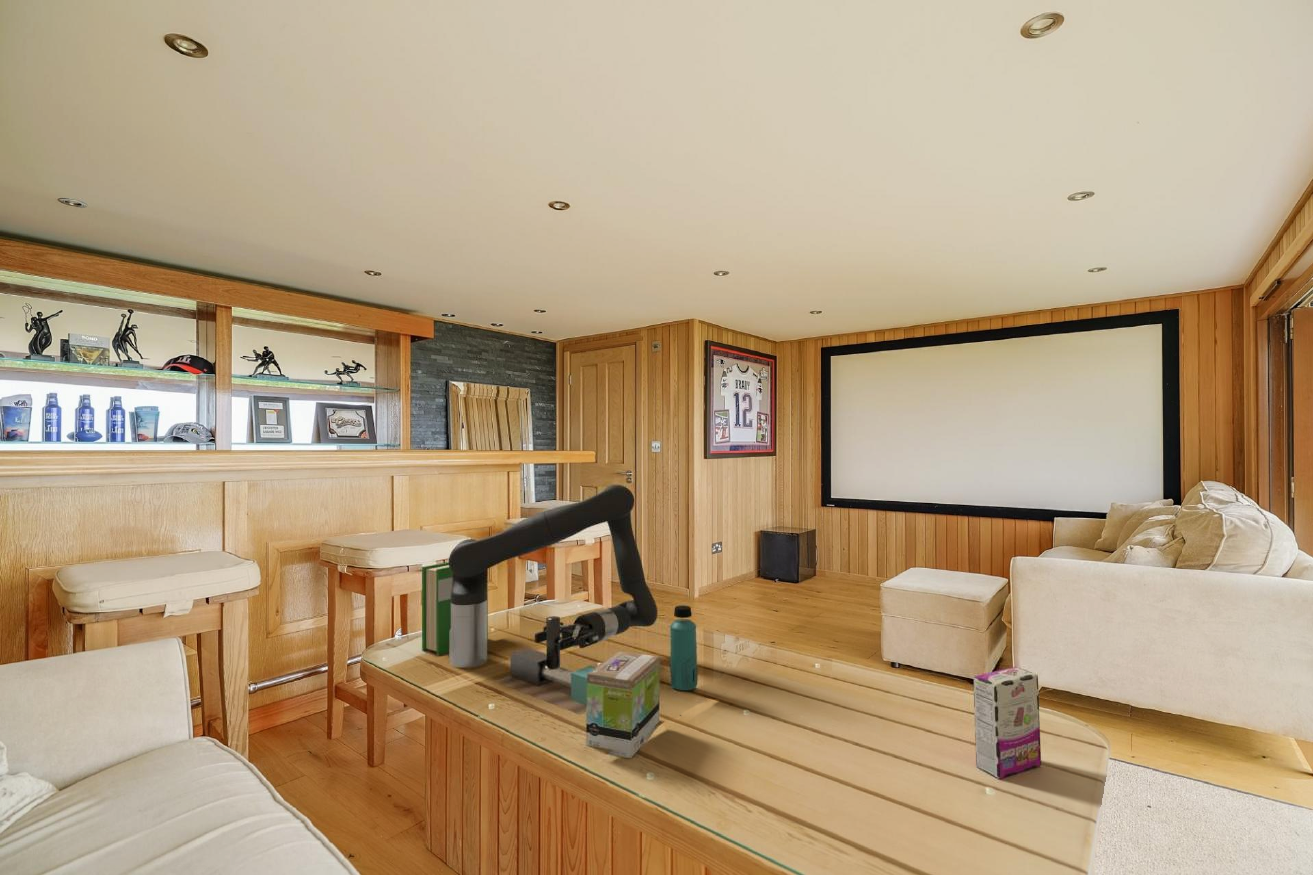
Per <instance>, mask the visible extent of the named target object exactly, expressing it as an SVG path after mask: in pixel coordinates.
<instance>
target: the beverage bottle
mask: <svg viewBox="0 0 1313 875" xmlns="http://www.w3.org/2000/svg"><path fill="white" fill-rule="evenodd" d="M673 613H674V614H673V616H674V617H675V618H679V619H675V620H674V621H672V623H670V626H669V628H670V630H669V632H670V634H669V635H670V638H669V639H670V641H669V642H670V651H669V653H670V654H669V657H670V664H669V666H670V668H669V669H670V670H669V671H670V672H669V673H670V685H671V687H672V688H673V689H674V690H677V691H678V690H679V691H691V690H694V689H696V688H697V687H698V686H697V685H698V684H699V683H698V679H699V678H698V675H699V674H698V668H699V667H698V654H697V653H698V652H697V650H698V649H697V647H698V646H697V644H698V642H697V624H696V623H695V622H694V621H692V620H691V619H688V618H690V617H692V607H691V606H689V605H676V606H675V607H674V612H673Z"/></svg>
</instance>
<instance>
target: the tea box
mask: <svg viewBox="0 0 1313 875" xmlns="http://www.w3.org/2000/svg"><path fill="white" fill-rule="evenodd" d="M660 661H661V660H660V656H657V655H649V654H642V653H635V652H627V651H620V650H619V651H616V652H615V653H613V654H612V655H611V656H610V657H608V658H606V660H605V661H603V662H602V663H600V664H599V665H597V667H596V668H595V669H593V670H592V671H591V672H589V673H588V674H587V707H586V712H585V713H586V715H585V718H586V721H585V722H586V723H585V729H586V731H585V746H589V747H595V748H599V749H606V750H610V751H608V752H606V753H605V755H609V756H614V757H615V756H616V757H620V758H627V759H632V758H633V757H634V755H635V754H636V753H637V752H638V750H639V749H640V748H641V747H642V746H643V745H644V743H645V742H646V741H647V740H648V739H649V738H650V737H651V736H652V734H654V732H655V731H656V730H657V729H658V728H659V726H660V724H658V723H659V722H660V696H661V694H660V689H661V688H660V686H661V684H660V680H661V679H660V677H661V676H660V673H661V672H660V671H661V670H660V669H661V664H660V663H661V662H660ZM657 724H658V725H657Z"/></svg>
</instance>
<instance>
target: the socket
mask: <svg viewBox="0 0 1313 875" xmlns="http://www.w3.org/2000/svg"><path fill="white" fill-rule="evenodd" d="M595 668H596V667H595V666H593V665H588V666H586V667H584V668H583V667H582V668H580V669H578V670H575V671H573V672H572V673H571V700H573V701H576V702H578V703H581V704H584V705H586V706H587V674H588V673H589V672H591V671H592V670H593V669H595Z"/></svg>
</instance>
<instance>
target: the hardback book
mask: <svg viewBox="0 0 1313 875" xmlns="http://www.w3.org/2000/svg"><path fill="white" fill-rule="evenodd" d="M488 586H489V585H488ZM488 586H487V640H488V639H489V636H488V635H489V633H488V629H489V628H488V625H489V624H488V623H489V621H488V620H489V618H488V617H489V609H488V607H489V606H488V604H489V601H488V600H489V599H488V597H489V596H488V595H489V594H488V592H489V591H488ZM451 589H452V571H451V570H450V568H449V561H447V562H441V563H436V564H431V565H425V566H422V567H421V651H422V652H426V651H427V652H428V651H433V652H436V656H441V655H444V654H447V653H449V631H450V629H451Z"/></svg>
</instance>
